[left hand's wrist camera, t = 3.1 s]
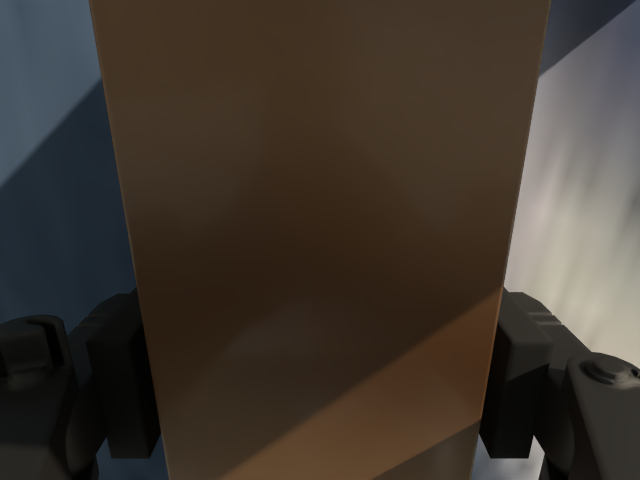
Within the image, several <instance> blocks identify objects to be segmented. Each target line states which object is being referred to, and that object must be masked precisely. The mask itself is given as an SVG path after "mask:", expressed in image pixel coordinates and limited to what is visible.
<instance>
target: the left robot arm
mask: <svg viewBox="0 0 640 480" xmlns="http://www.w3.org/2000/svg"><path fill="white" fill-rule="evenodd" d="M160 434H161V429H160V423H159V417H158V411H157V405H156V399H155V393H154V387H153V381H152V375H151V369H150V363H149V357H148V351H147V345H146V339H145V333H144V327H143V321H142V315H141V309H140V303H139V297H138V291H137V286H136V288H135V289H134V290H133V291H132V292H131V293H130V294H116V295H115V296H113V297H111V298H109V299H107V300H105V301H104V302H102V303H100V304H99V305H98V306H97V307H96V308H95V309H94V310H93V311H92V312H91V313H90V314H89V317H86V318H85V319H84V320H83V321H82V322H81V323H80V324H79V327H76V328H75V329H74V330H73V331H72V332H71V333H70V334H69V335H68V336H67V335H66V331H65V327H64V323H63V320H61V319H60V318H58V317H57V316H50V315H34V316H27V317H22V318H18V319H13V320H11V321H8V322H5V323H2V324H0V480H98V476H99V470H98V463H97V459H96V453H97V451H98V450H99V448H100V446H101V445H102V443H103V442H104V440H105V438H106V437H107V440H108V444H109V449H110V453H111V458H150V456H151V454H152V452H153V450H154V447H155V445H156V443H157V441H158V439H159V436H160ZM479 434H480V436H481V439H482V441H483V443H484V445H485V447H486V449H487V452H488V454H489V456H490V458H529V453H530V449H531V444H532V440H533V436H535V438H536V439H537V441H538V442H539V444H540V446H541V447H542V449H543V451H544V452H545V455H544V459H543V463H542V467H541V471H540V476H539V480H640V369H639V368H637V367H636V366H634V365H633V364H631V363H628V362H626V361H624V360H622V359H619V358H617V357H614V356H610V355H606V354H602V353H596V352H591V351H590V350H589V349H588V348H587V347H586V346H585V345H584V344H583V343H582V342H581V341H580V340H579V339H578V338H577V337H576V336H575V335H574V334H572V333H571V332H570V331H569V330H568V329H567V328H566V327H565V326H564V325H561V322H560V321H559V320H558V319H557V318H556V317H555V316H554V315H552V313H551V312H550V311H549V310H548V309H547V308H546V307H545V306H544V305H543V304H542V303H541V302H539V301H538V300H536V299H534V298H532V297H530V296H528V295H527V294H525V293H523V292H508V291H507V290H506V289H505V288H504V286H503V292H502V298H501V304H500V309H499V315H498V321H497V327H496V333H495V339H494V345H493V351H492V357H491V363H490V369H489V375H488V381H487V387H486V393H485V399H484V405H483V411H482V417H481V423H480V429H479Z"/></svg>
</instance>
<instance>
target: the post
mask: <svg viewBox="0 0 640 480" xmlns="http://www.w3.org/2000/svg"><path fill="white" fill-rule="evenodd" d="M89 5H90V11H91V17H92V23H93V29H94V35H95V41H96V47H97V53H98V59H99V65H100V71H101V77H102V83H103V89H104V95H105V101H106V107H107V113H108V119H109V124H110V130H111V136H112V142H113V148H114V154H115V160H116V166H117V172H118V178H119V184H120V190H121V196H122V202H123V208H124V214H125V220H126V226H127V232H128V238H129V244H130V250H131V256H132V262H133V268H134V274H135V280H136V286H137V291H138V297H139V303H140V309H141V315H142V321H143V327H144V333H145V339H146V345H147V351H148V357H149V363H150V369H151V375H152V381H153V387H154V393H155V399H156V405H157V411H158V417H159V423H160V429H161V435H162V441H163V447H164V452H165V458H166V464H167V470H168V476H169V480H471V476H472V470H473V465H474V459H475V453H476V447H477V441H478V435H479V429H480V423H481V417H482V411H483V405H484V399H485V393H486V387H487V381H488V375H489V369H490V363H491V357H492V351H493V345H494V339H495V333H496V327H497V321H498V315H499V309H500V304H501V298H502V292H503V286H504V280H505V274H506V268H507V262H508V256H509V250H510V244H511V238H512V232H513V226H514V220H515V214H516V208H517V202H518V196H519V190H520V184H521V178H522V172H523V166H524V160H525V154H526V148H527V143H528V137H529V131H530V125H531V119H532V113H533V107H534V101H535V95H536V89H537V83H538V77H539V71H540V65H541V59H542V53H543V47H544V41H545V35H546V29H547V23H548V17H549V11H550V5H551V0H89Z"/></svg>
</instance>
